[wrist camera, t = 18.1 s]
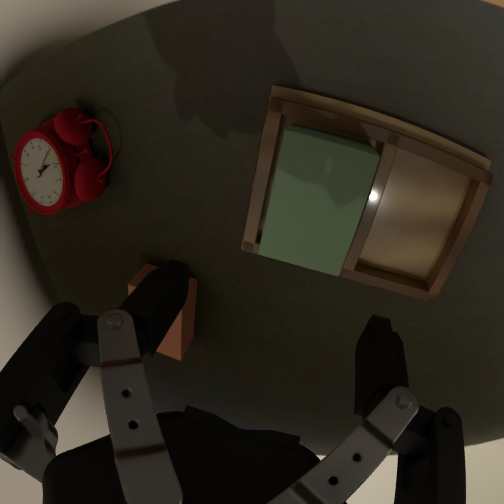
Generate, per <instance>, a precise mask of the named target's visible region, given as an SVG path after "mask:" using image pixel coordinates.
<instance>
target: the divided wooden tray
mask: <svg viewBox="0 0 504 504" xmlns="http://www.w3.org/2000/svg"><path fill="white" fill-rule="evenodd" d="M292 123H294V124H299V125H303V126H307V127H311V128H314V129H318V130H322V131H326V132H329V133H333V134H337V135H340V136H344V137H347V138H350V139H354V140H357V141H360V142H363V143H367V144H370V145H372V146H373V148H374V149H375V150H376V152H377V153H378V155H379V156H380V159H379V163H378V166H377V169H376V172H375V176H374V179H373V182H372V185H371V188H370V191H369V194H368V197H367V200H366V203H365V206H364V209H363V212H362V215H361V218H360V220H359V223H358V226H357V229H356V232H355V234H354V237H353V240H352V243H351V245H350V248H349V251H348V253H347V256H346V258H345V261H344V264H343V266H342V269H341V271H340V274H339V276H338V277H342V278H345V279H349V280H352V281H356V282H360V283H363V284H367V285H370V286H374V287H377V288H381V289H385V290H388V291H392V292H395V293H399V294H403V295H406V296H410V297H413V298H417V299H421V300H424V301H427V302H431V303H433V302H434V301H435V299H436V297H437V296H438V294H439V292H440V290H441V289H442V287H443V285H444V283H445V282H446V280H447V278H448V276H449V274H450V272H451V271H452V269H453V267H454V265H455V263H456V261H457V259H458V257H459V255H460V253H461V251H462V249H463V247H464V245H465V243H466V241H467V239H468V237H469V235H470V232H471V230H472V228H473V226H474V224H475V221H476V219H477V217H478V215H479V212H480V210H481V207H482V205H483V203H484V200H485V198H486V195H487V192H488V190H489V187H490V185H491V182H492V179H493V176H494V175H493V174H491V173H490V172H488V171H489V168H490V165H491V160H489V159H487V158H485V157H483V156H481V155H480V154H478V153H476V152H474V151H472V150H470V149H467V148H465V147H463V146H461V145H459V144H457V143H455V142H453V141H450V140H448V139H446V138H444V137H441V136H439V135H437V134H435V133H432V132H430V131H427V130H425V129H422V128H420V127H417V126H415V125H412V124H410V123H407V122H405V121H402V120H399V119H396V118H394V117H391V116H388V115H385V114H382V113H379V112H376V111H373V110H370V109H367V108H364V107H361V106H357V105H354V104H351V103H347V102H344V101H340V100H337V99H333V98H329V97H325V96H321V95H318V94H313V93H309V92H305V91H301V90H296V89H292V88H287V87H282V86H277V85H272V88H271V93H270V99H269V104H268V109H267V114H266V119H265V124H264V129H263V135H262V140H261V145H260V150H259V156H258V161H257V166H256V171H255V177H254V182H253V187H252V193H251V198H250V203H249V209H248V214H247V220H246V225H245V230H244V236H243V241H242V247H241V249H242V250H244V251H248V252H251V253H255V254H258V251H259V247H260V242H261V238H262V233H263V228H264V224H265V219H266V214H267V210H268V205H269V200H270V196H271V191H272V186H273V182H274V177H275V172H276V167H277V163H278V158H279V153H280V149H281V144H282V139H283V134H284V130H285V129H286V128H287V127H288V126H290V125H291V124H292ZM298 266H299V265H298ZM316 271H317V270H316ZM334 276H335V275H334Z"/></svg>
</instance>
